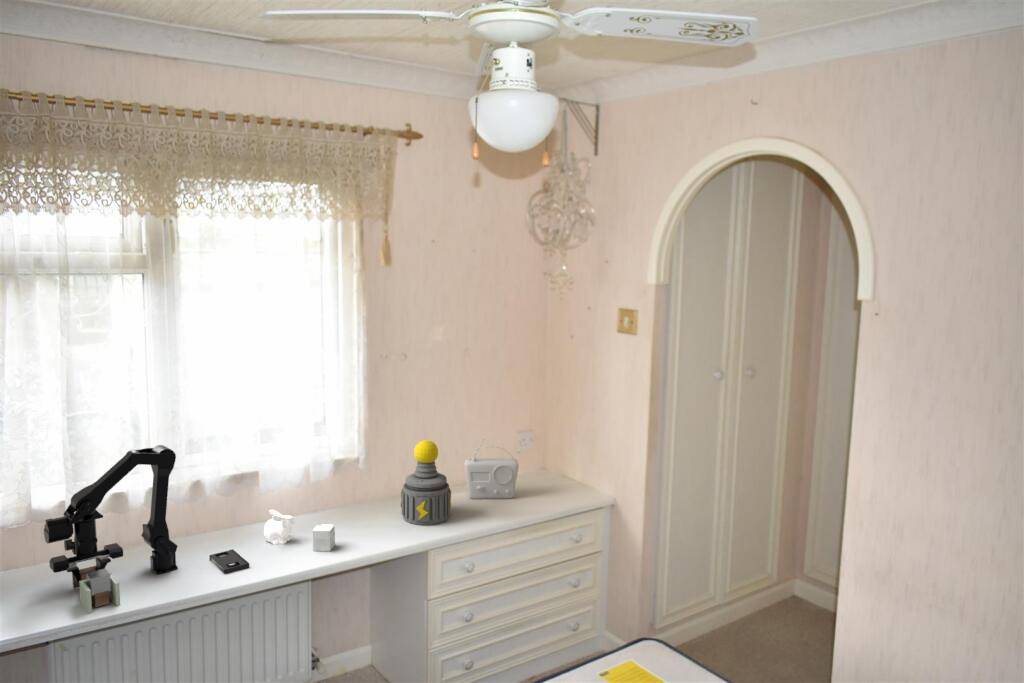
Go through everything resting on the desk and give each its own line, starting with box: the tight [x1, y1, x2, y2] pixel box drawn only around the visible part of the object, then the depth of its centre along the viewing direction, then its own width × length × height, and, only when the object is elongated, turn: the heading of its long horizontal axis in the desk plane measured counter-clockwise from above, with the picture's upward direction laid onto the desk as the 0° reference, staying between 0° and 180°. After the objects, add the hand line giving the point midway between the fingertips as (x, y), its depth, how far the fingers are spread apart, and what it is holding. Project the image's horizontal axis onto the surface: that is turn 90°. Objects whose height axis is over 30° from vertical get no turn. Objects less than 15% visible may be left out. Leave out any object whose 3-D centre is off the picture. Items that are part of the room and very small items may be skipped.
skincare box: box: [312, 523, 336, 552], centre depth 269 cm, size 6×6×7 cm
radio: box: [464, 438, 520, 500], centre depth 323 cm, size 22×8×25 cm, turn 95°
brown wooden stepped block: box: [71, 565, 110, 608], centre depth 232 cm, size 18×7×5 cm, turn 42°
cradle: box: [78, 572, 121, 614], centre depth 228 cm, size 8×11×7 cm
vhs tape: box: [208, 549, 250, 575], centre depth 256 cm, size 14×8×2 cm, turn 40°
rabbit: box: [263, 509, 296, 545], centre depth 274 cm, size 12×9×12 cm
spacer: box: [86, 568, 111, 596], centre depth 227 cm, size 5×5×5 cm
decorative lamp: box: [400, 439, 452, 526], centre depth 298 cm, size 19×19×30 cm
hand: (88, 584), depth 236 cm, fingers closed on brown wooden stepped block, 4 cm apart
